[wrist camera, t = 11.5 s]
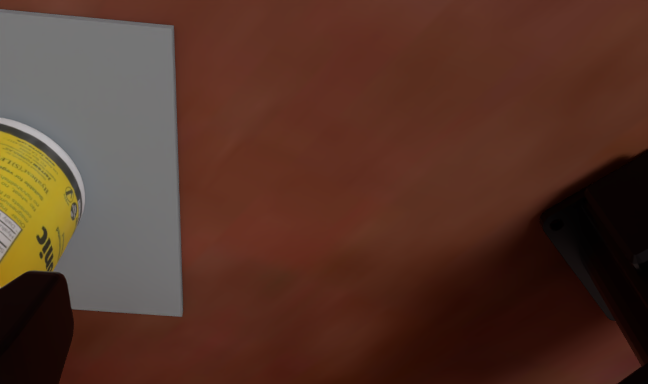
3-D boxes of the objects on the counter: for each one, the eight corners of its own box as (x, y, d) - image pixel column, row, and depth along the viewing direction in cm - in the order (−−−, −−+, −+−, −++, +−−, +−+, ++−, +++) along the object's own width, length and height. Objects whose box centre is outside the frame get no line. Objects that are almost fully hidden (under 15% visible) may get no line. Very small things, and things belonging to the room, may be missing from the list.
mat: (173, 25, 19) (171, 28, 19) (183, 311, 25) (181, 316, 25) (-233, -13, 18) (-241, -11, 18) (-118, 290, 25) (-122, 296, 24)
